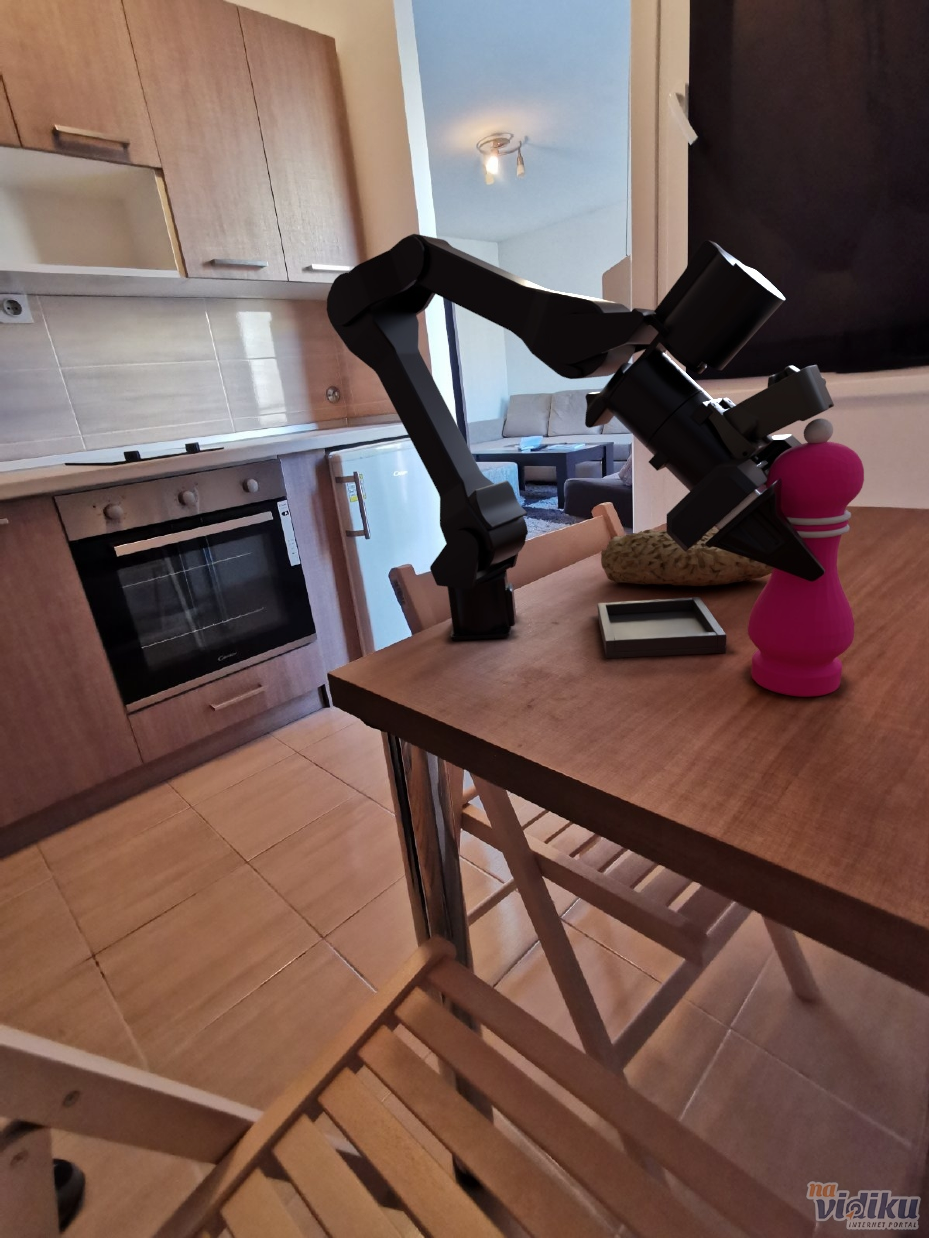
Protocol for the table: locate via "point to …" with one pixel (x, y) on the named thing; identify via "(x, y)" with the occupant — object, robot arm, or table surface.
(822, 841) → the table surface
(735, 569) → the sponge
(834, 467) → the pepper mill
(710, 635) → the shallow square tray
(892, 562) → the table surface
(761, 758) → the table surface
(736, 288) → the robot arm
